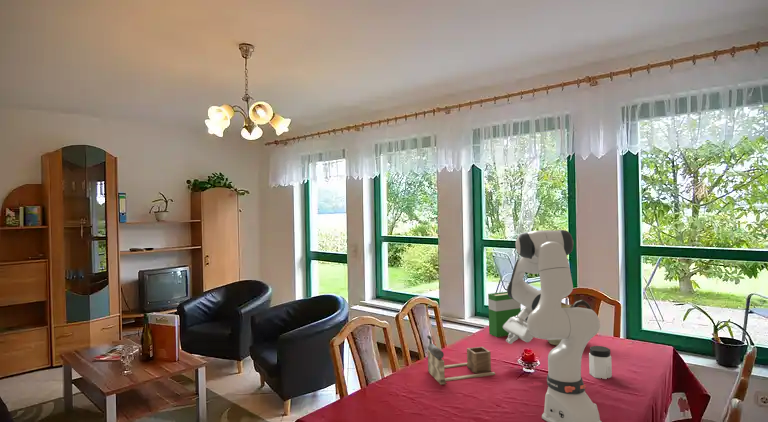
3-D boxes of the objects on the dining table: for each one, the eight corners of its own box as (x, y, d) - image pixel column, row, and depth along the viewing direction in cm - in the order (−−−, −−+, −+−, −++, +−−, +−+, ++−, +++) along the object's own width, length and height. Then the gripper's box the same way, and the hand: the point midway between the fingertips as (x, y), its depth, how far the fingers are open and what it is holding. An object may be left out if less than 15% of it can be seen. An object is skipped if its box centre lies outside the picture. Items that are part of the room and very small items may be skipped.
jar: (603, 380, 192) (603, 353, 192) (586, 375, 199) (585, 348, 199) (615, 375, 197) (614, 348, 197) (597, 370, 204) (597, 344, 204)
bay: (495, 377, 199) (494, 340, 199) (438, 384, 193) (437, 346, 193) (478, 364, 216) (477, 330, 216) (425, 370, 209) (424, 335, 209)
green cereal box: (513, 330, 273) (512, 291, 273) (521, 333, 266) (520, 293, 266) (489, 333, 266) (488, 293, 266) (496, 337, 260) (495, 296, 259)
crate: (491, 371, 203) (490, 351, 203) (474, 373, 201) (474, 353, 201) (483, 365, 211) (482, 346, 211) (467, 367, 209) (466, 348, 209)
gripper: (510, 310, 221) (493, 332, 219) (533, 320, 201) (514, 344, 199) (519, 318, 222) (501, 340, 220) (542, 329, 202) (524, 353, 200)
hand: (508, 342), depth 209 cm, fingers closed
